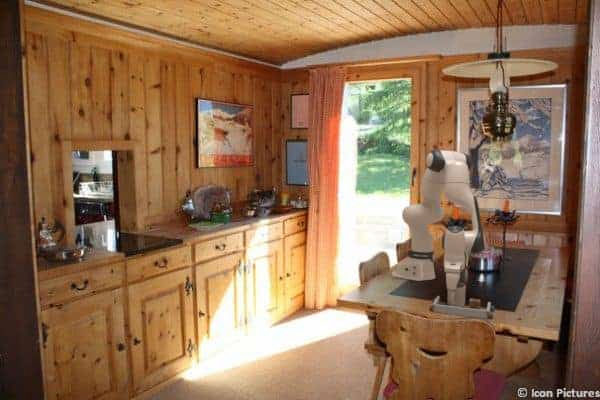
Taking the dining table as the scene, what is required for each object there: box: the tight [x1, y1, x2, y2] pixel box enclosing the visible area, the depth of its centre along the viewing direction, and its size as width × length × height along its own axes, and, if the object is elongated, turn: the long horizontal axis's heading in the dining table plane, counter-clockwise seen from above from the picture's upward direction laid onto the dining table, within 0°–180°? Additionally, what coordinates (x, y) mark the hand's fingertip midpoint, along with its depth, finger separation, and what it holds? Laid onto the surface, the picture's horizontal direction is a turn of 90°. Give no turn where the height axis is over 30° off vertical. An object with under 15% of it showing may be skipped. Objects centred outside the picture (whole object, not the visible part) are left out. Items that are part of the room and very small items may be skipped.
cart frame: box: [428, 295, 495, 320], centre depth 210 cm, size 25×13×3 cm, turn 66°
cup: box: [446, 281, 466, 308], centre depth 215 cm, size 7×10×9 cm
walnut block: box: [468, 297, 481, 310], centre depth 208 cm, size 4×4×5 cm
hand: (453, 293), depth 221 cm, fingers closed, pressing on cup
